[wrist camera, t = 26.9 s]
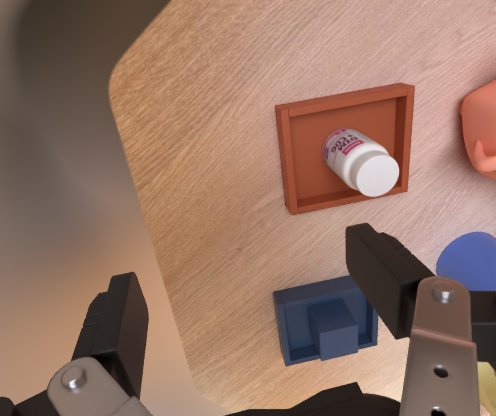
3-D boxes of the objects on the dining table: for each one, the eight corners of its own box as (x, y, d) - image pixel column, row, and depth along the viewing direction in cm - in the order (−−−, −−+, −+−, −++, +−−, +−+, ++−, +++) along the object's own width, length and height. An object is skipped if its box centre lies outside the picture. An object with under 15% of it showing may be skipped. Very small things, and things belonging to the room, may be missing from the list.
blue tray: (281, 351, 52) (285, 366, 50) (272, 291, 47) (276, 305, 44) (369, 331, 53) (377, 345, 51) (370, 270, 48) (379, 282, 45)
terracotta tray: (285, 205, 41) (291, 215, 39) (274, 105, 36) (280, 110, 34) (395, 183, 42) (407, 191, 40) (401, 82, 37) (415, 85, 35)
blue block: (309, 332, 50) (321, 361, 46) (307, 306, 48) (319, 334, 44) (343, 324, 51) (358, 352, 46) (342, 298, 48) (358, 325, 44)
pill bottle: (335, 119, 37) (372, 141, 29) (370, 137, 38) (414, 162, 31) (313, 159, 39) (342, 190, 31) (347, 175, 40) (384, 208, 33)
